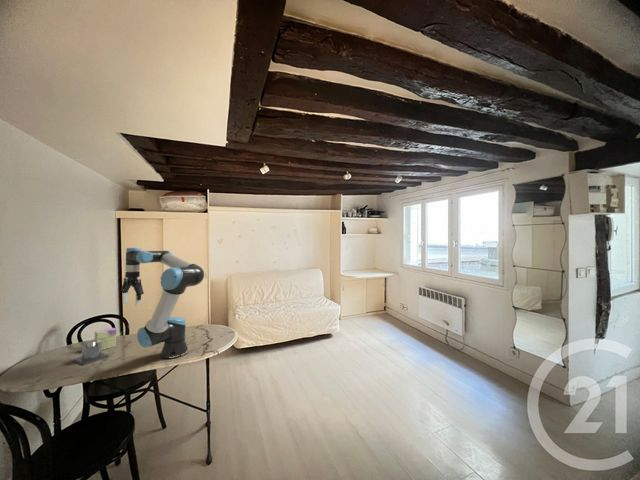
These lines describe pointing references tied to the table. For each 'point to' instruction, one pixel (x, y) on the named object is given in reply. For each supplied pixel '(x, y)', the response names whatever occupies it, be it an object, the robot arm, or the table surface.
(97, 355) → the hub
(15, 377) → the table surface
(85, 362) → the shaft stand
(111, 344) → the box
